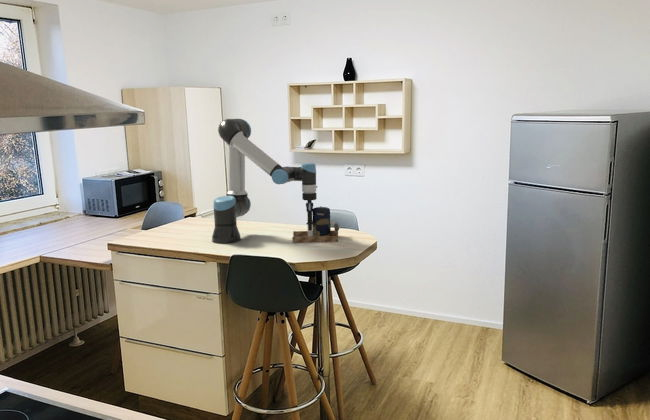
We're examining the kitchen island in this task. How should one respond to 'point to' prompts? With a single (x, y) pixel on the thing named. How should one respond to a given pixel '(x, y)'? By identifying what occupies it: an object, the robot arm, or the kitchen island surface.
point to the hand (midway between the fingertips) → (310, 235)
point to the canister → (321, 221)
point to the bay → (304, 238)
